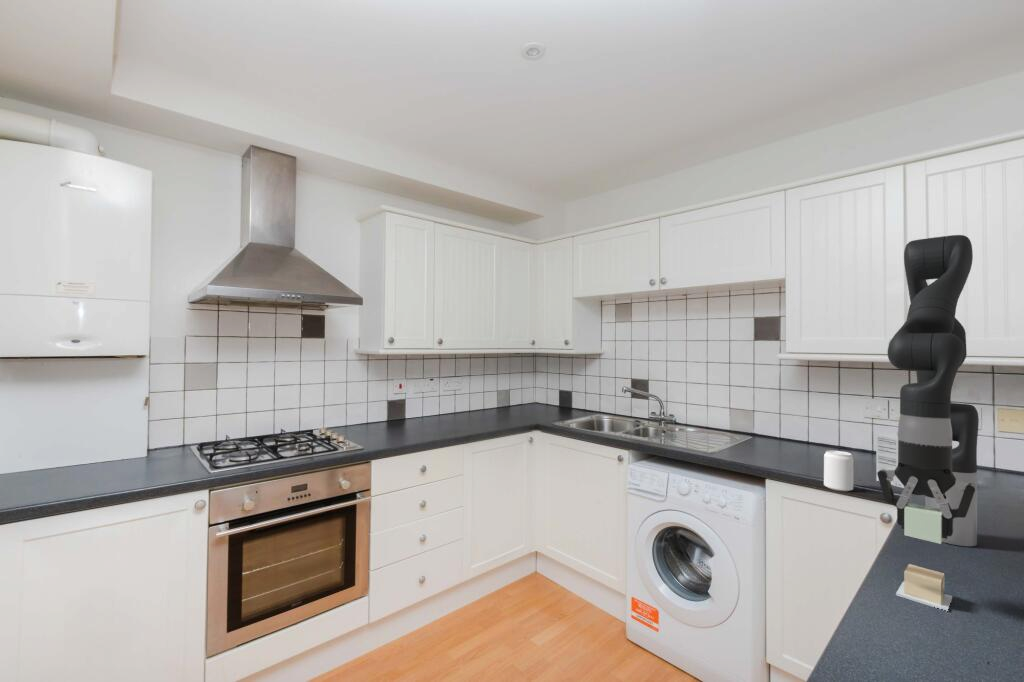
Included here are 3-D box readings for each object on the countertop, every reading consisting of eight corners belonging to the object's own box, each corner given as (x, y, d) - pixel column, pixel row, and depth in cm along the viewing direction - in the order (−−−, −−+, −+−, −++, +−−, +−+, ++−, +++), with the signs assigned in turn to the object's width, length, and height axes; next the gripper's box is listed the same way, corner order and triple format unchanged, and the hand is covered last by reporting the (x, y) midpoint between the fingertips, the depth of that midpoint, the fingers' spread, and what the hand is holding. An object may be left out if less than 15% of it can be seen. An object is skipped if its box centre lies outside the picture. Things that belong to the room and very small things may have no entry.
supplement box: (892, 479, 169) (893, 433, 170) (922, 486, 161) (922, 437, 161) (875, 481, 166) (875, 434, 167) (904, 488, 157) (904, 438, 158)
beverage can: (841, 485, 160) (841, 450, 160) (859, 492, 152) (859, 455, 152) (818, 484, 160) (818, 449, 160) (835, 492, 152) (835, 455, 152)
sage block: (909, 528, 89) (909, 502, 89) (944, 537, 85) (944, 509, 86) (904, 535, 86) (904, 507, 86) (940, 543, 82) (940, 515, 82)
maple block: (909, 584, 89) (909, 563, 89) (944, 595, 85) (944, 573, 85) (904, 593, 86) (904, 571, 86) (940, 605, 82) (940, 582, 82)
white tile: (902, 583, 90) (902, 581, 90) (952, 598, 85) (952, 595, 85) (896, 595, 86) (896, 593, 86) (947, 611, 81) (947, 609, 81)
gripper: (980, 444, 83) (980, 540, 83) (880, 432, 94) (879, 517, 94) (977, 449, 78) (977, 551, 78) (871, 436, 89) (871, 526, 89)
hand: (924, 532), depth 86 cm, fingers closed on sage block, 5 cm apart
